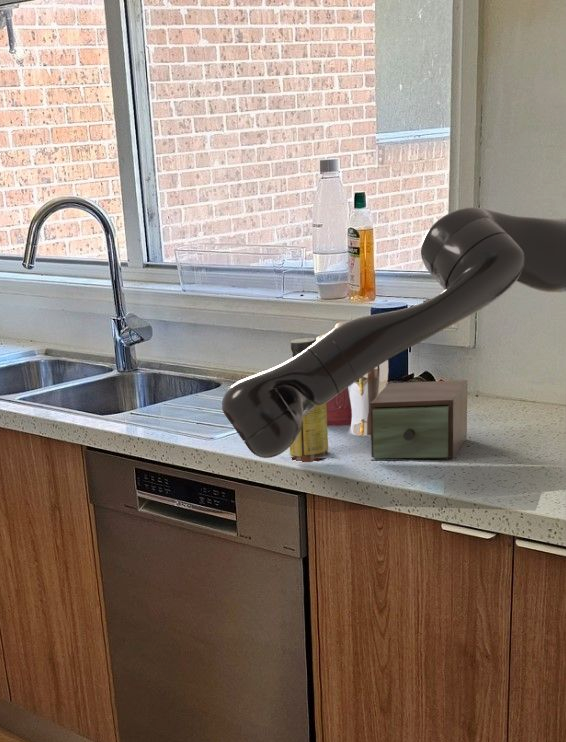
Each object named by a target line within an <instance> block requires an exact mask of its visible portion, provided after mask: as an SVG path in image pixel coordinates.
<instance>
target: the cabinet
mask: <svg viewBox="0 0 566 742" xmlns="http://www.w3.org/2000/svg"><path fill="white" fill-rule="evenodd" d="M438 405H448V406H449V456H448V457H440V458H414V459H416V460H417V459H419V460H420V459H421V460H423V459H424V460H450V461H453V460H454V459H455V458H456V456H457V454H458V453H459V451H460V450H461V448H462V446H463V445H464V444H465V442H466V440H467V439H468V379H457V380H436V381H435V380H433V381H411V382H389V383H387V386H386V387H385V388H384V389H383V390H382V391H381V392H380V393H379V394H378V396H377V397H376V398H375V399H374V400H373V401H372V402H371V403H370V410H371V436H370V444H371V445H370V448H371V449H370V450H371V451H370V452H371V453H370V455H371V461H372V462H408V460H403V459H374V451H373V409H377V408H382V407H410V406H438ZM372 458H373V459H372Z"/></svg>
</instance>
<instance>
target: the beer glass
mask: <svg viewBox="0 0 566 742" xmlns="http://www.w3.org/2000/svg"><path fill="white" fill-rule="evenodd" d="M388 381H389V359H388V360H387V361H385V362H383V363H382V364H380V365H379V366H377V367H376V368H374V369H373V370H371V371H370V372H368V373H367V374H365V375H364V376H363V377H361V378H360V379H359V380H357V381H356V382H354V383H353V384H352V385H350V386H349V387H347V389H348V395H349V401H350V407H351V423H350V425H349V428H348V434H349V435H352V436H359V437H360V436H361V437H371V410H370V403H371V402H372V401H373V400H374V399H375V398H376V397H377V396H378V394H379V393H380V392H381V391H382V390H383V389H384V388H385V387H386V386H387V385H388Z"/></svg>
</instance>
